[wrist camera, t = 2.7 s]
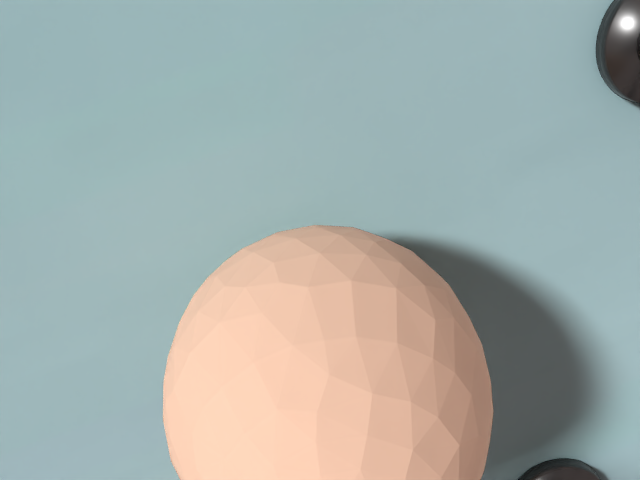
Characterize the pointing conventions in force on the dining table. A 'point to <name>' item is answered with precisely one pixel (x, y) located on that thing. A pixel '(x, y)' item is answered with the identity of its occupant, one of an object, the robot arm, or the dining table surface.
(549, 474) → the pole
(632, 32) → the pole corner
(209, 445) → the egg
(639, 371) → the dining table surface
